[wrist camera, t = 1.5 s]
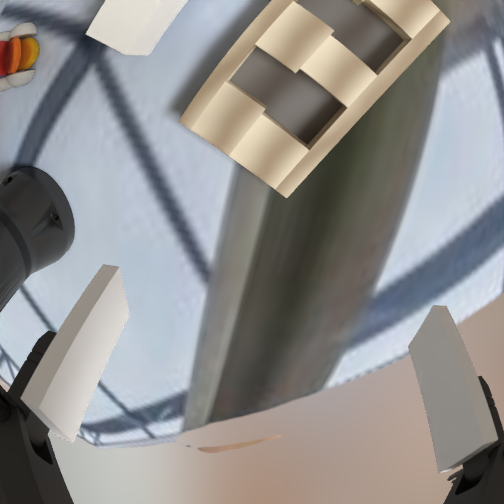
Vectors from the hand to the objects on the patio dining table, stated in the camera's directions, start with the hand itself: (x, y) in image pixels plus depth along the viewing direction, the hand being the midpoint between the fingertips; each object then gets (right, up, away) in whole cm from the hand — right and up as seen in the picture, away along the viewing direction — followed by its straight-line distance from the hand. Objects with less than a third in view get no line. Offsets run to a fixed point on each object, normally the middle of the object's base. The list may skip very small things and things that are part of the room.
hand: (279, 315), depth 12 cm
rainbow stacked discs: (-31, +28, +12) cm, 43 cm away
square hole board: (+5, +21, +12) cm, 25 cm away
